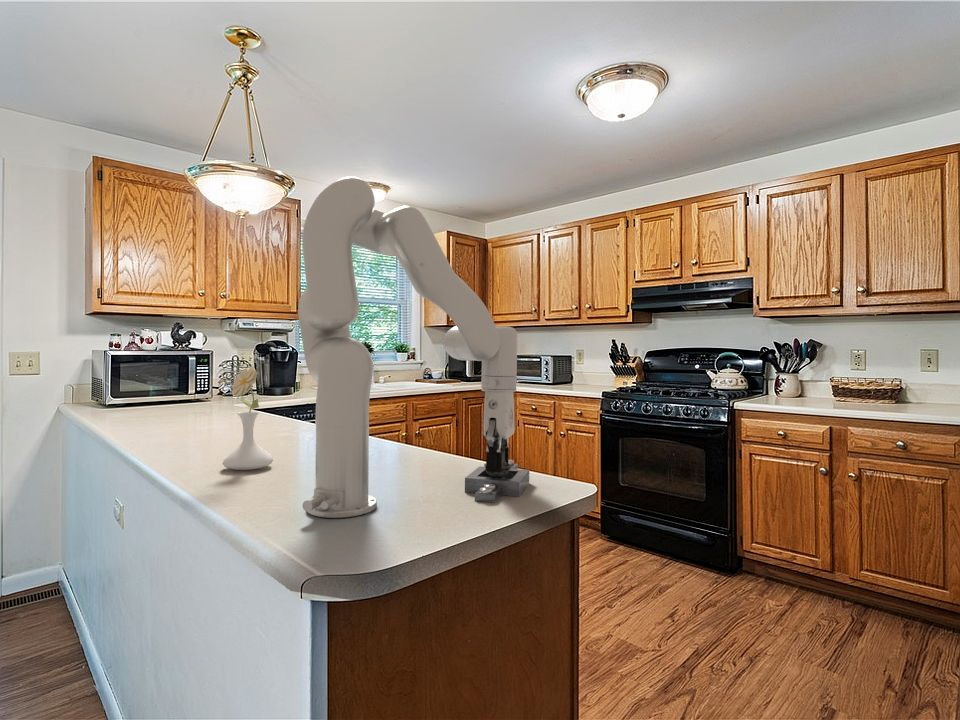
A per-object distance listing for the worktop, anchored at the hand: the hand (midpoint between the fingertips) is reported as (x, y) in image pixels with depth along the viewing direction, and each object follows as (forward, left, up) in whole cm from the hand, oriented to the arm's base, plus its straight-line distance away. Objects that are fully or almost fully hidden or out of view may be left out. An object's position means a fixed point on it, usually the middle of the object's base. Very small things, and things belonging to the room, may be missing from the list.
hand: (497, 467), depth 115 cm
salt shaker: (0, 0, -3) cm, 3 cm away
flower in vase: (-1, +62, -5) cm, 62 cm away
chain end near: (-3, 0, -4) cm, 5 cm away
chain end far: (+3, 0, -4) cm, 5 cm away
